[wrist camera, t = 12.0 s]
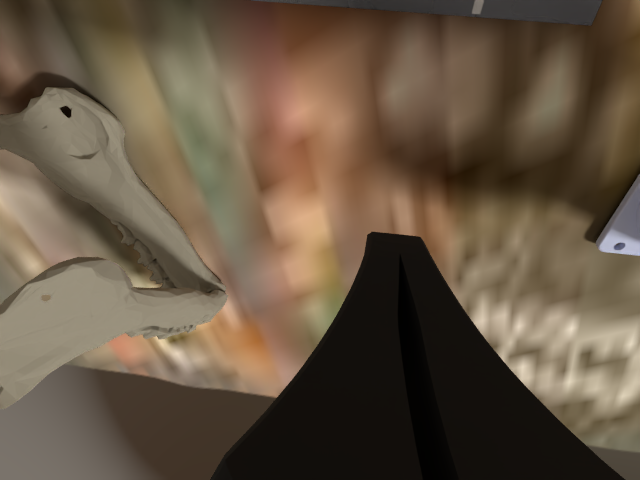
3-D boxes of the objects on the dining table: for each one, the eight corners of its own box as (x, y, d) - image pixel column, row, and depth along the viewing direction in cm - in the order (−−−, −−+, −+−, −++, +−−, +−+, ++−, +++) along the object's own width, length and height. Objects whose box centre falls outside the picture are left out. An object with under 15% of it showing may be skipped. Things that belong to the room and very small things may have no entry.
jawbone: (173, 239, 31) (-45, 115, 19) (253, 198, 30) (72, 33, 17) (188, 424, 24) (-143, 423, 12) (294, 384, 23) (38, 334, 10)
